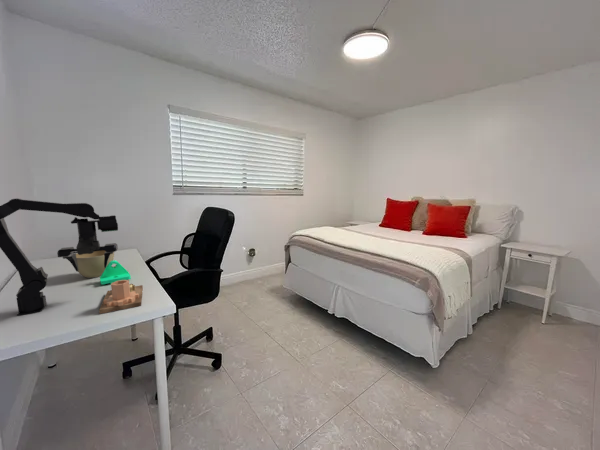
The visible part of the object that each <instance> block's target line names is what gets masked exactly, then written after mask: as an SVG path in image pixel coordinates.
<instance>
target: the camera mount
mask: <svg viewBox="0 0 600 450" xmlns="http://www.w3.org/2000/svg"><path fill="white" fill-rule="evenodd" d="M113 265H115V266H113ZM131 278H132V275H131V274H130V272H129V271H128V270H127V269H126V268H125V267H124V266H123V265H122V264H121V263H120V262H118V260H116V259H113V261H110V262H109V264H108V265H107V267H106V268H105V270H104V272H103V273H102V275H101V276H99V281H100V282H99V283H100V285H106V284H110V285H111V284H112V283H113V282H116V281H120V280H131Z"/></svg>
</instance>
